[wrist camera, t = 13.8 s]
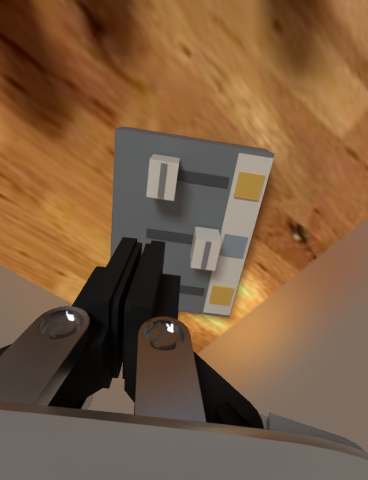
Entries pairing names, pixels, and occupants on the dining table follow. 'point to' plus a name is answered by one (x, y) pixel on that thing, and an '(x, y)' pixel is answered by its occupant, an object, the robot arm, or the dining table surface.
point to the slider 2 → (205, 248)
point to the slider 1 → (162, 177)
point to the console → (191, 208)
